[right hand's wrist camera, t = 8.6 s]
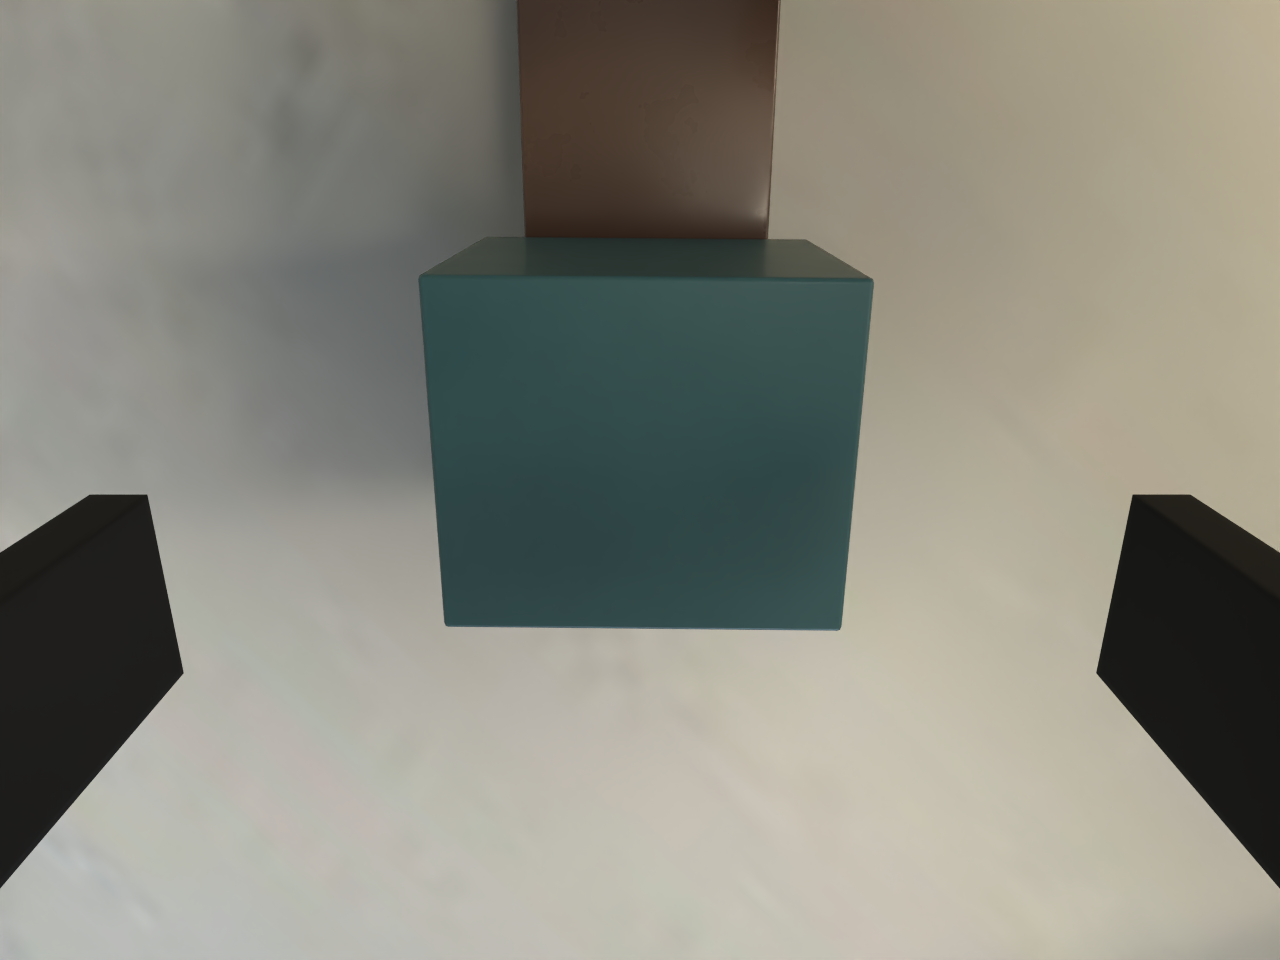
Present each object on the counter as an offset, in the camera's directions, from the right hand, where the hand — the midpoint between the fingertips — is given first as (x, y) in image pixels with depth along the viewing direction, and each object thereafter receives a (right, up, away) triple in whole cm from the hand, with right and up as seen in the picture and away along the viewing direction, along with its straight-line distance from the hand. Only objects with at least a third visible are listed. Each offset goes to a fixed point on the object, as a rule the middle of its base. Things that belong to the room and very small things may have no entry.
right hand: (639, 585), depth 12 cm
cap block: (0, +4, +11) cm, 12 cm away
